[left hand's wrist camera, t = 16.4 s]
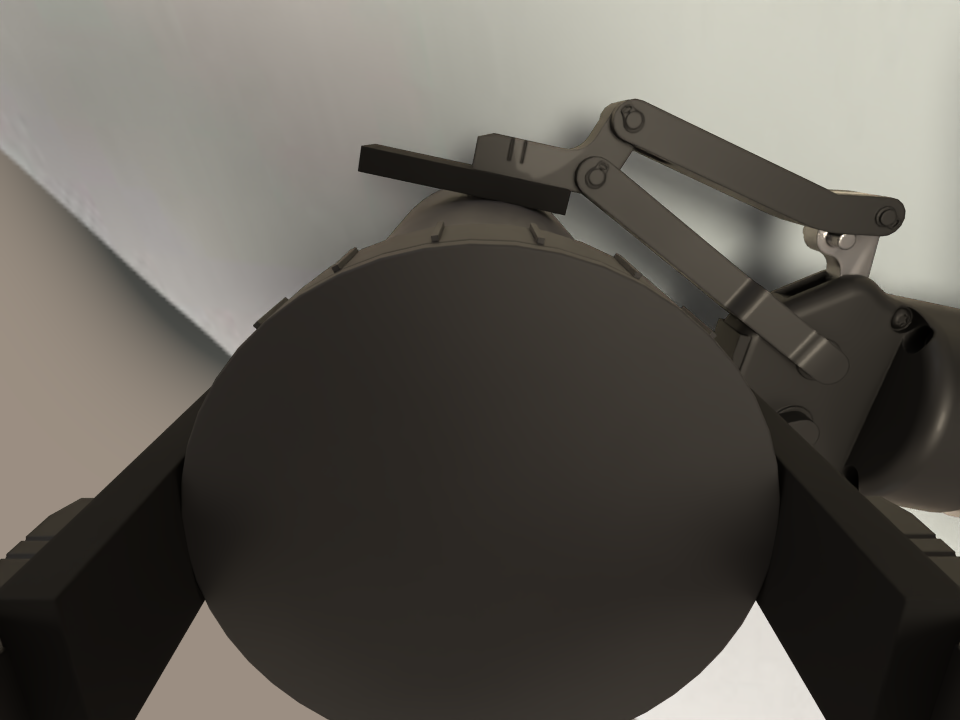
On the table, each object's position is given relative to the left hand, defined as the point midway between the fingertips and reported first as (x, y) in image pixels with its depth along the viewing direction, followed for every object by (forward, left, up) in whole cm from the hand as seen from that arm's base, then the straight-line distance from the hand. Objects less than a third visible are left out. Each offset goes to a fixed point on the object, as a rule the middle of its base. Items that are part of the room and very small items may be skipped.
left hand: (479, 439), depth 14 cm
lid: (0, 0, +3) cm, 3 cm away
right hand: (-4, -3, -9) cm, 10 cm away
